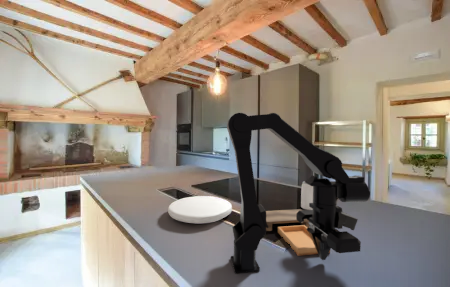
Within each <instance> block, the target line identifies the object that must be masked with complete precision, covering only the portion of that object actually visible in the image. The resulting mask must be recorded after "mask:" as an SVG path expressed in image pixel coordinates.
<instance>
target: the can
mask: <svg viewBox="0 0 450 287" xmlns="http://www.w3.org/2000/svg"><path fill="white" fill-rule="evenodd" d="M305 181H306V180H304V181H302V184H301V190H300V194H301V195H300V207H301V208H302V210H313V209H312V208H311V207H309V203H313V186H310V185H308V184H307V183H305Z"/></svg>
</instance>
